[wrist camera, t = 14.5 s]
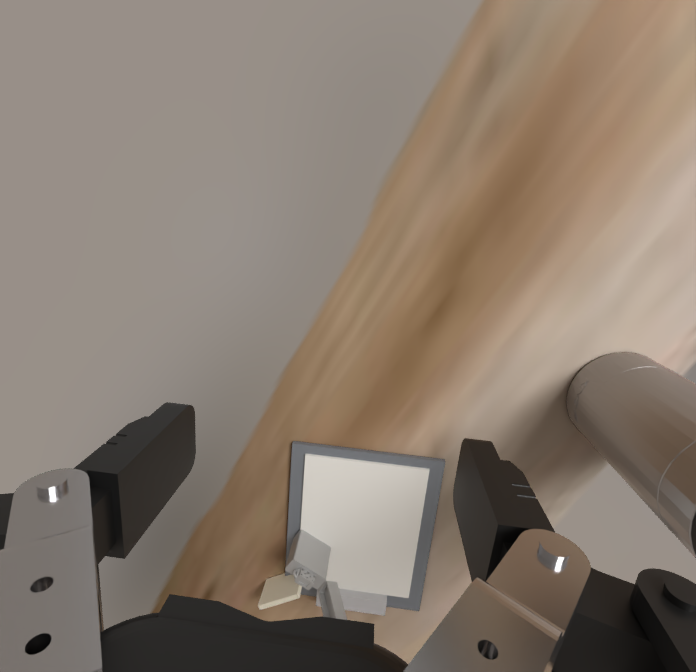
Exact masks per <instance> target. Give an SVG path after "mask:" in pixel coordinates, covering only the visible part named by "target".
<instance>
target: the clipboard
mask: <svg viewBox="0 0 696 672" xmlns="http://www.w3.org/2000/svg"><path fill="white" fill-rule="evenodd" d="M444 466H445V459H438V458H429V457H421V456H413V455H405V454H396V453H388V452H380V451H372V450H364V449H355V448H347V447H339V446H331V445H323V444H314V443H306V442H298V441H293V443H292V457H291V475H290V493H289V512H288V530H287V548H286V563H287V560H288V556H289V553H290V549H291V545H292V542H293V538H294V537H295V535H296V534H297V533H298V532H299V531H300V530H304V531H306V532H307V533H309V534H310V535H312V536H314V537H315V538H317V539H318V540H320V541H322V542H323V543H325V544H327V545H328V546H330V547H331V551H330V557H329V564H328V570H327V576H326V581H334V582H337V584H338V587H339V591H340V595H341V598H342V602H343V606H344V610H349V611H356V612H363V613H370V614H376V615H383V616H385V612H386V607H393V608H400V609H407V610H414V611H419V609H420V603H421V598H422V592H423V586H424V581H425V575H426V569H427V563H428V558H429V552H430V546H431V541H432V535H433V529H434V523H435V518H436V512H437V506H438V501H439V495H440V489H441V483H442V478H443V472H444ZM285 567H286V566H285ZM288 575H291V574H290V573H289V572H287V571H286V570H285V576H288ZM301 594H302V595H309V596H316V597H317V598H316V606H321V604H320V599H319V595H318V589H315V588H313V587H311V589H310V590H307V589H305V588H304V587H302V589H301Z"/></svg>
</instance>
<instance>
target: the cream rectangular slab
mask: <svg viewBox="0 0 696 672" xmlns="http://www.w3.org/2000/svg"><path fill="white" fill-rule="evenodd" d="M301 589H302V586H300V585H299V584H297V583H295V578H294V576H293V575H292V574H291V575H288V576H285V573H284V574H281V575H278V576H274V577H271V578H268V579H266V582H265V585H264V588H263V591H262V594H261V597H260V600H259V603H258V607H259V609H260V610H262V609H265V608H268V607H272V606H275V605H278V604H282V603H285V602H288V601H291V600H295V599H298V598H300V594H301Z"/></svg>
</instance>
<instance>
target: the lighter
mask: <svg viewBox="0 0 696 672" xmlns="http://www.w3.org/2000/svg"><path fill="white" fill-rule="evenodd" d="M330 551H331V547H330V546H328V545H327V544H325V543H323V542H322V541H320V540H318V539H317V538H315V537H314V536H312V535H310V534H309V533H307V532H306V531H304V530H300V531H299V532H298V533H297V534H296V535H295V537H294V538H293V542H292V545H291V549H290V553H289V556H288V560H287V563H286V567H285V570H286V571H287V572H289V573H290V574H292V575H293V576H294V578H295V583H297V584H299V585H300V586H302V587H304V588H305V589H307V590H310V589H311V587H313V588H315V589H318V595H319V599H320V604H321V608H322V612H323V617H329V618H336V619H343V620H347V617H346V613H345V610H344V606H343V602H342V598H341V595H340V591H339V587H338V584H337V582H334V581H326V576H327V570H328V564H329V557H330Z"/></svg>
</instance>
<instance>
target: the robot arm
mask: <svg viewBox="0 0 696 672" xmlns="http://www.w3.org/2000/svg"><path fill="white" fill-rule="evenodd" d="M566 402H567V411H568V414H569V416H570V419H571V420H572V422H573V423H574V425H575V426H576V427H577V428H578V429H579V431H580V432H581V433H582V434H583V435H584V436H585V437H586V438H587V439H588V440H589V442H590V443H591V444H592V445H593V446H594V447H595V448H596V449H597V451H598V452H599V453H600V454H601V455H602V456H603V457H604V458H605V459H606V460H607V462H608V463H609V464H610V465H611V466H612V467H613V468H614V469H615V470H616V471H617V473H618V474H619V475H620V476H621V477H622V478H623V479H624V480H625V481H626V482H627V483H628V485H629V486H630V487H631V488H632V489H633V490H634V491H635V492H636V493H637V495H639V497H640V498H641V499H642V500H643V501H644V502H645V503H646V504H647V505H648V507H649V508H650V509H651V510H652V511H653V512H654V513H655V514H656V515H657V516H658V518H660V520H661V521H662V522H663V523H664V524H665V525H666V526H667V527H668V529H669V530H670V531H671V532H672V533H673V534H674V535H675V536H676V537H677V538H678V539H679V540H680V541H681V543H683V545H684V546H685V547H686V548H687V549H688V550H689V551H690V552H691V554H692V555H693V556H694V557H695V558H696V384H695V383H694V382H692V381H690V380H688V379H686V378H684V377H683V376H681V375H679V374H677V373H676V372H674V371H672V370H670V369H668V368H666V367H664V366H663V365H661V364H659V363H657V362H655V361H653V360H651V359H650V358H648V357H646V356H643V355H640V354H637V353H629V352H619V353H612V354H608V355H604V356H602V357H600V358H597V359H595V360H593V361H592V362H590V363H589V364H587V365H586V366H585V367H584V368H583V369H582V370H581V371H580V372H579V373H578V374H577V375H576V376H575V378H574V379H573V381H572V383H571V385H570V387H569V390H568V394H567V401H566ZM195 453H196V445H195V411H194V408H193V406H191V405H185V404H176V403H165V404H163V405H162V406H161V407H160V408H159V409H157V410H156V411H155V412H154V413H153V414H152V415H150V416H149V417H143V418H141V419H138V420H136V421H134V422H132V423H130V424H128V425H126V426H125V427H124V428H123V429H122V430H120V431H119V432H118V433H117V434H116V436H113V437H112V438H111V439H109V440H108V441H107V443H106V444H103V445H102V446H101V447H99V448H98V449H97V450H96V451H95V452H93V453H92V454H91V455H90V456H89V457H87V458H86V459H85V460H84V461H83V462H81V463H80V464H79V465H77V466H76V467H75V468H74V469H57V470H52V471H48V472H45V473H42V474H39V475H37V476H34V477H32V478H30V479H29V480H27V481H25V482H24V483H23V484H21V485H20V486H19V487H18V488H17V489H16V491H15V492H14V493H10V494H0V672H696V584H694V583H693V582H691V581H689V580H688V579H686V578H684V577H681V576H679V575H677V574H675V573H672V572H669V571H665V570H661V569H646V570H643V571H641V572H640V573H639V574H638V577H637V580H636V583H635V584H632V583H629V582H627V581H623V580H621V579H618V578H616V577H612V576H610V575H607V574H605V573H602V572H599V571H597V570H595V569H593V568H591V566H590V562H589V560H588V558H587V556H586V555H585V554H584V552H583V551H582V550H581V549H580V548H579V547H578V546H577V545H576V544H574V543H573V542H572V541H570V540H569V539H567V538H565V537H563V536H561V535H559V534H557V533H555V531H554V529H553V528H552V526H551V524H550V522H549V520H548V518H547V516H546V515H545V513H544V511H543V509H542V507H541V505H540V503H539V502H538V500H537V499H536V496H535V494H534V492H533V490H532V489H531V488H530V485H529V483H528V481H527V479H526V477H525V476H524V474H523V472H521V471H520V470H519V469H518V468H517V467H516V466H515V465H514V464H512V463H511V462H510V461H505V460H500V458H499V456H498V454H497V452H496V450H495V448H494V445H493V443H492V442H491V441H484V440H475V439H467V438H465V439H464V440H463V442H462V445H461V451H460V456H459V461H458V467H457V472H456V478H455V483H454V492H453V501H454V509H455V513H456V517H457V521H458V525H459V530H460V534H461V538H462V542H463V546H464V550H465V555H466V559H467V563H468V567H469V571H470V575H471V580H472V583H471V584H470V585H469V587H468V588H467V589H466V591H465V592H464V593H463V595H462V596H461V597H460V598H459V600H458V601H457V602H456V604H455V605H454V606H453V608H452V609H451V610H450V611H449V613H448V614H447V615H446V617H445V618H444V619H443V621H442V622H441V623H440V624H439V626H438V627H437V628H436V630H435V631H434V632H433V634H432V635H431V636H430V637H429V639H428V640H427V641H426V643H425V644H424V645H423V647H422V648H421V649H420V650H419V652H418V653H417V654H416V656H415V657H414V658H413V660H412V661H411V662H410V663H409V665H408V664H407V663H406V662H405V661H403V660H402V659H401V658H399V657H398V656H397V655H395V654H394V653H392V652H390V651H389V650H387V649H385V648H383V647H381V646H379V645H377V644H375V643H374V624H371V623H364V622H357V621H350V620H343V619H336V618H329V617H314V618H304V619H294V620H284V621H274V622H268V621H263V620H260V619H258V618H256V617H254V616H251V615H249V614H247V613H244V612H242V611H240V610H237V609H235V608H233V607H230V606H228V605H226V604H224V603H221V602H219V601H212V600H205V599H198V598H191V597H184V596H177V595H169V597H168V598H167V600H166V602H165V604H164V605H163V607H162V609H161V611H160V613H152V614H148V615H143V616H139V617H136V618H132V619H129V620H126V621H124V622H121V623H119V624H117V625H114V626H112V627H110V628H108V629H106V630H104V627H103V615H102V603H101V590H100V578H99V568H98V564H99V562H100V561H101V560H102V559H103V558H104V557H105V556H110V557H117V558H124V559H125V557H126V556H127V555H128V554H129V552H130V551H131V549H132V548H133V547H134V545H135V544H136V543H137V542H138V540H139V539H140V538H141V536H142V535H143V534H144V532H145V531H146V530H147V528H148V527H149V526H150V524H151V523H152V522H153V520H154V519H155V518H156V516H157V515H158V514H159V512H160V511H161V510H162V509H163V507H164V506H165V505H166V503H167V502H168V501H169V499H170V498H171V497H172V495H173V494H174V493H175V491H176V490H177V489H178V487H179V486H180V485H181V483H182V482H183V481H184V479H185V478H186V477H187V475H188V474H189V473H190V471H191V469H192V466H193V464H194V459H195Z"/></svg>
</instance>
